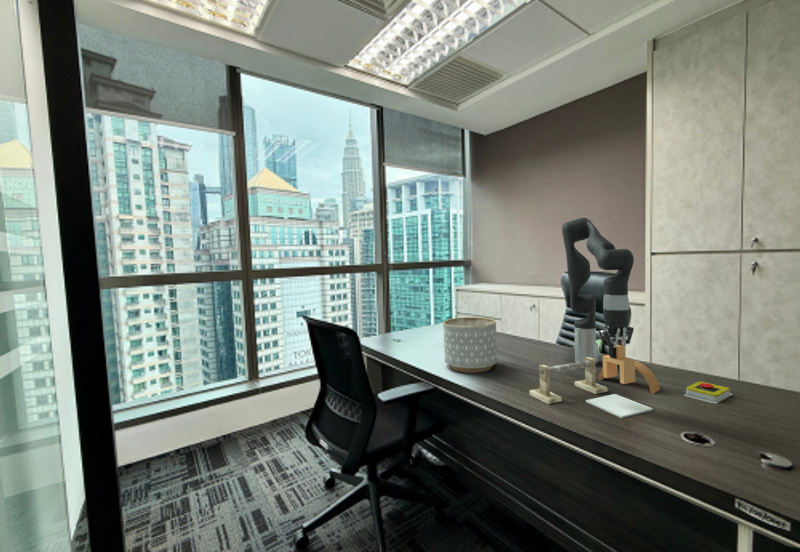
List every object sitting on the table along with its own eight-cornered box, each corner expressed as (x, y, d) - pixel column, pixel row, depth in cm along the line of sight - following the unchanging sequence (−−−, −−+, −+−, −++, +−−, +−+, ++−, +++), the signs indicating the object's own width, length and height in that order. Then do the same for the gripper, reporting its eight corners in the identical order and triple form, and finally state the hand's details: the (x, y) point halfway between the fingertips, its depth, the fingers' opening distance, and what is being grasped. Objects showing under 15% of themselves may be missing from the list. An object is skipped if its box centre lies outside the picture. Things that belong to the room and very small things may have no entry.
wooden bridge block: (613, 374, 125) (613, 342, 124) (635, 381, 117) (634, 347, 117) (603, 376, 123) (602, 344, 123) (624, 384, 115) (623, 349, 115)
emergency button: (682, 384, 127) (701, 376, 134) (682, 396, 127) (701, 387, 134) (715, 392, 119) (733, 383, 126) (715, 405, 119) (733, 395, 126)
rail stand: (586, 383, 143) (585, 354, 143) (607, 391, 134) (606, 360, 133) (529, 394, 135) (528, 363, 134) (548, 404, 125) (547, 371, 124)
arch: (653, 394, 130) (652, 367, 129) (598, 380, 147) (597, 356, 146) (659, 390, 133) (659, 364, 132) (605, 377, 150) (605, 354, 149)
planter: (435, 364, 178) (433, 321, 177) (474, 356, 190) (472, 315, 189) (466, 378, 156) (464, 329, 155) (508, 368, 167) (507, 321, 166)
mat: (614, 395, 130) (614, 393, 130) (652, 410, 116) (652, 408, 116) (585, 401, 125) (585, 400, 125) (621, 418, 112) (621, 416, 112)
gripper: (621, 304, 125) (622, 352, 126) (590, 308, 121) (592, 357, 122) (641, 307, 118) (642, 357, 119) (610, 310, 114) (611, 363, 114)
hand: (616, 357), depth 120 cm, fingers closed on wooden bridge block, 3 cm apart
